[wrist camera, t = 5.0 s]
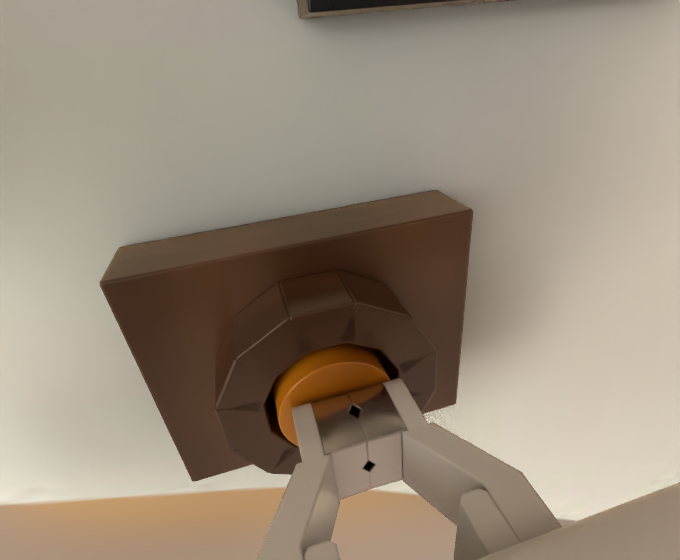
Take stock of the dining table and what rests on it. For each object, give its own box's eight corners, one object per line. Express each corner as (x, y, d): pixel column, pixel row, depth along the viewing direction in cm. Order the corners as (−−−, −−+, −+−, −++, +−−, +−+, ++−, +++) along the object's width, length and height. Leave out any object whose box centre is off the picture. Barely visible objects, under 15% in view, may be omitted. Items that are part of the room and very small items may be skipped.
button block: (195, 431, 15) (188, 537, 12) (117, 246, 11) (73, 326, 8) (430, 367, 17) (483, 442, 14) (437, 188, 13) (515, 232, 10)
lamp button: (280, 416, 12) (289, 464, 11) (260, 338, 11) (268, 381, 9) (375, 390, 13) (395, 432, 11) (370, 312, 11) (393, 349, 10)
